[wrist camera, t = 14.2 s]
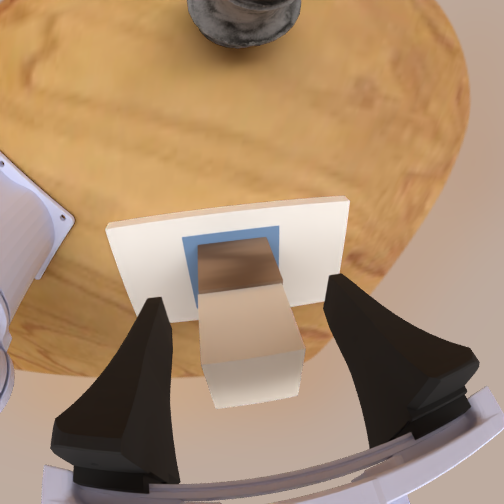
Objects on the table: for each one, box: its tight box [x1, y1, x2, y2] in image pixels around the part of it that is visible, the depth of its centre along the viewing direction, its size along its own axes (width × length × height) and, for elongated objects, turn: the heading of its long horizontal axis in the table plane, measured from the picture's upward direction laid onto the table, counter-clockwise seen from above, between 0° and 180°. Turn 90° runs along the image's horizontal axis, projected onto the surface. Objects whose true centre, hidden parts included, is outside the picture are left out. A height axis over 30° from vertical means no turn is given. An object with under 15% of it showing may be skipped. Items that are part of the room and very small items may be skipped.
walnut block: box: [198, 237, 283, 294], centre depth 21 cm, size 5×5×5 cm
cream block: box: [198, 283, 306, 409], centre depth 17 cm, size 5×5×5 cm
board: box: [105, 196, 350, 323], centre depth 23 cm, size 18×10×1 cm, turn 92°
